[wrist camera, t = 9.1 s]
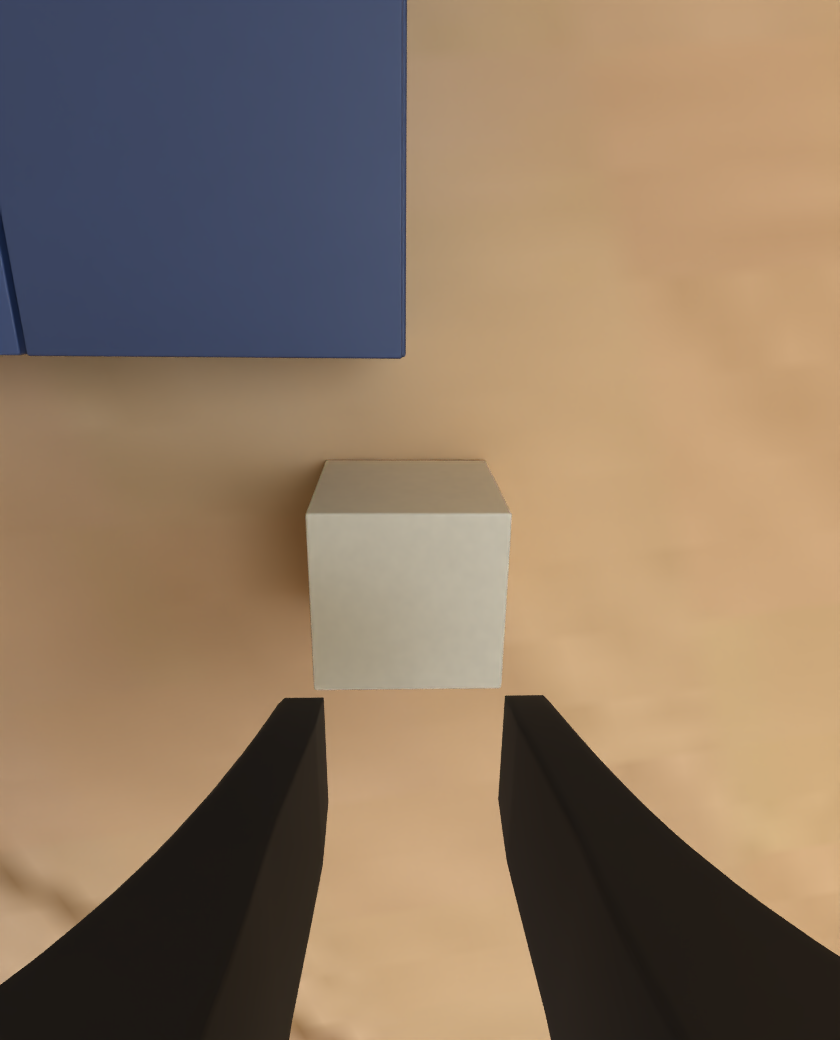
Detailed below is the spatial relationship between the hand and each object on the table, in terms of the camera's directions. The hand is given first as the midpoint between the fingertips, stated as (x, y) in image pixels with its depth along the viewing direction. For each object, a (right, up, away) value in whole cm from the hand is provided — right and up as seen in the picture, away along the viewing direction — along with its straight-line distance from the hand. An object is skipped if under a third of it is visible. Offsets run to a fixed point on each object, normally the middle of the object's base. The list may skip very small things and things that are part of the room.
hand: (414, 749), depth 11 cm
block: (0, +3, +9) cm, 9 cm away
